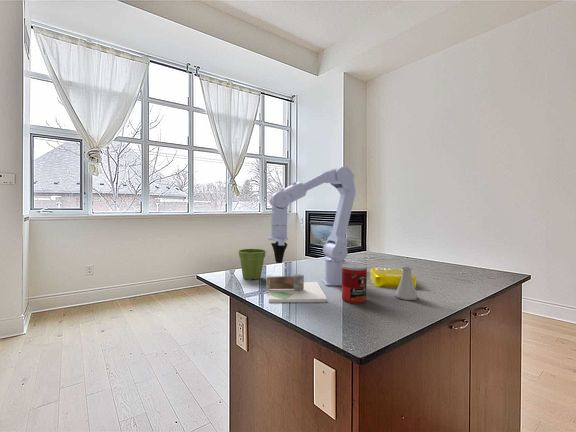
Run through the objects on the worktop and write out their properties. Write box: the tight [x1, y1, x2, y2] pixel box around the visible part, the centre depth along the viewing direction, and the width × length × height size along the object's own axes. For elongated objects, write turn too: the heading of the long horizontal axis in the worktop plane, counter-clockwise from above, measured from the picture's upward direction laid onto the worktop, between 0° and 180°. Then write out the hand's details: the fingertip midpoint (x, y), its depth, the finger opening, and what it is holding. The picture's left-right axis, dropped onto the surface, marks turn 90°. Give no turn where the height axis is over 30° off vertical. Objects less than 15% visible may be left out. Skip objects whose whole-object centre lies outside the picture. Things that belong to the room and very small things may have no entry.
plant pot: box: [237, 248, 268, 281], centre depth 124 cm, size 12×12×11 cm
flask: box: [394, 265, 419, 301], centre depth 100 cm, size 7×7×10 cm
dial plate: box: [268, 281, 328, 304], centre depth 104 cm, size 18×20×1 cm
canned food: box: [341, 262, 368, 304], centre depth 97 cm, size 8×8×11 cm
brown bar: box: [265, 273, 305, 290], centre depth 104 cm, size 13×4×4 cm, turn 93°
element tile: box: [369, 267, 417, 289], centre depth 119 cm, size 15×15×5 cm
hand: (278, 262), depth 110 cm, fingers closed
